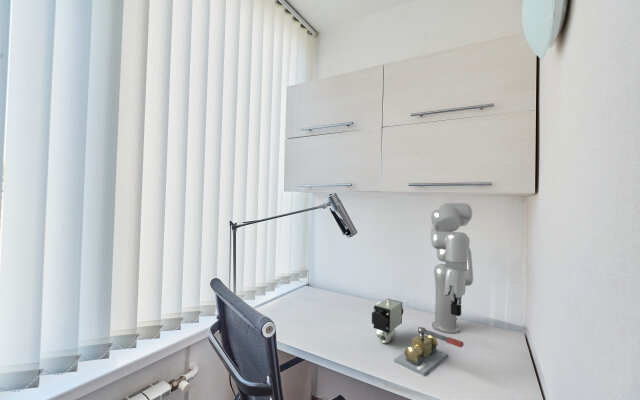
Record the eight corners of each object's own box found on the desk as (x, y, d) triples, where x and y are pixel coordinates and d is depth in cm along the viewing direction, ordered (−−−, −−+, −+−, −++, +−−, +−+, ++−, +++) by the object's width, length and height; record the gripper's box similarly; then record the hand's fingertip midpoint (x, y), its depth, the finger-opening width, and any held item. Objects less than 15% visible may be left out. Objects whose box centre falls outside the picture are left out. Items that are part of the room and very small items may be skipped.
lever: (416, 332, 108) (416, 328, 108) (420, 330, 110) (420, 326, 110) (460, 348, 96) (460, 344, 96) (463, 345, 98) (463, 341, 98)
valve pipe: (425, 346, 116) (425, 325, 116) (437, 351, 112) (437, 329, 112) (404, 361, 104) (404, 336, 105) (417, 367, 100) (417, 342, 101)
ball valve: (386, 330, 133) (387, 293, 133) (403, 336, 127) (404, 297, 128) (368, 343, 119) (368, 302, 120) (386, 350, 114) (387, 307, 114)
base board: (419, 345, 119) (419, 342, 119) (447, 356, 110) (447, 353, 110) (394, 361, 106) (394, 358, 106) (424, 375, 97) (424, 372, 97)
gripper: (452, 262, 113) (451, 307, 112) (439, 266, 102) (438, 317, 101) (472, 265, 108) (472, 312, 107) (460, 269, 97) (460, 322, 96)
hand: (455, 314), depth 104 cm, fingers closed
